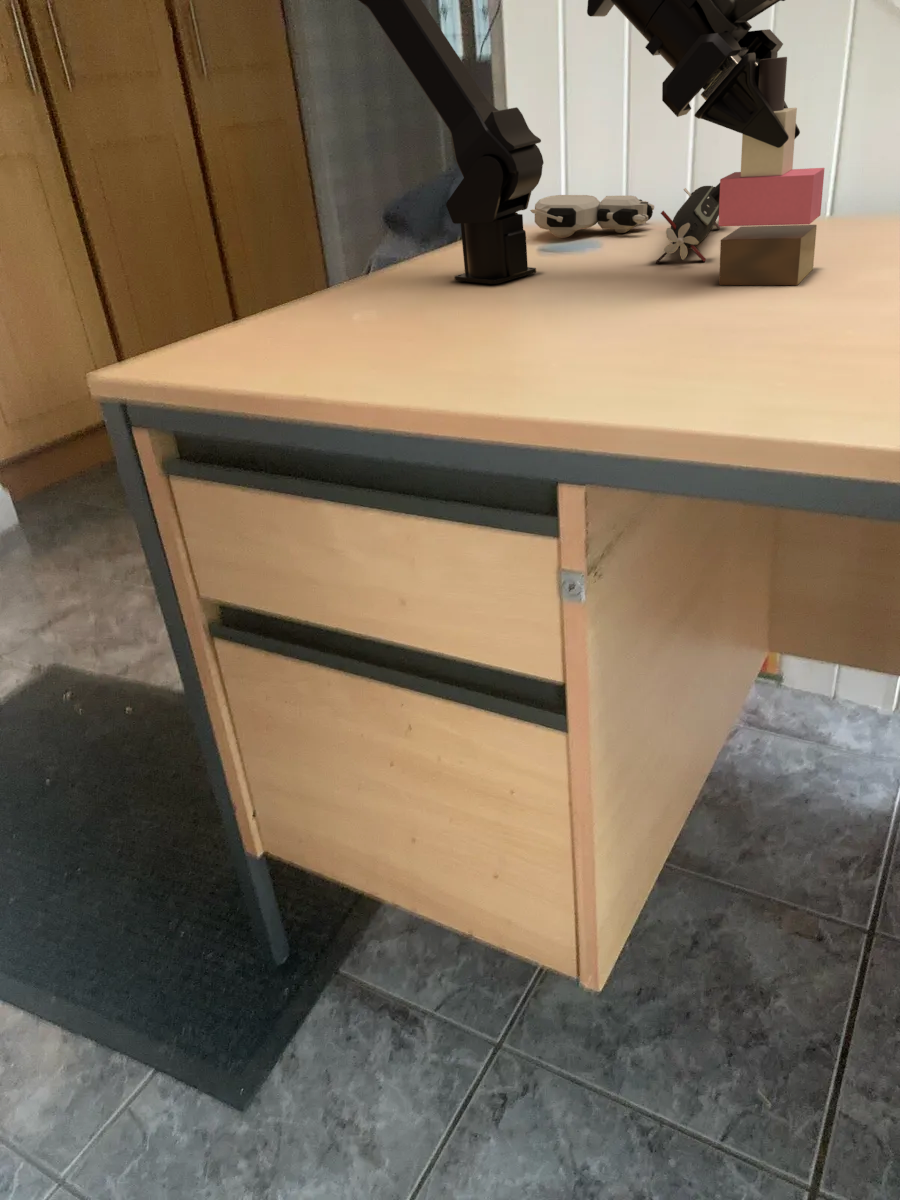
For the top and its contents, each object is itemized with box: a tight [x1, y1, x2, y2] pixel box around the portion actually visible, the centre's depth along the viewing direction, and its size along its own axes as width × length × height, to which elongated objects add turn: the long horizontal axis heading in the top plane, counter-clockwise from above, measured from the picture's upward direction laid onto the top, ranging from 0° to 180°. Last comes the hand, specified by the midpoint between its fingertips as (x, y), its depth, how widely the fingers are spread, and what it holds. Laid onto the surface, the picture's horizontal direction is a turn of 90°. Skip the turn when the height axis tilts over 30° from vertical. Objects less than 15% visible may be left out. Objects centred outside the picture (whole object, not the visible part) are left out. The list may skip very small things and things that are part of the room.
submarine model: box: [655, 182, 721, 264], centre depth 106 cm, size 31×7×10 cm
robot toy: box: [529, 194, 655, 239], centre depth 120 cm, size 12×4×15 cm
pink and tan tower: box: [717, 56, 825, 227], centre depth 83 cm, size 8×5×13 cm, turn 61°
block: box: [718, 224, 818, 286], centre depth 87 cm, size 7×7×4 cm
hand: (790, 140), depth 82 cm, fingers closed on pink and tan tower, 4 cm apart
